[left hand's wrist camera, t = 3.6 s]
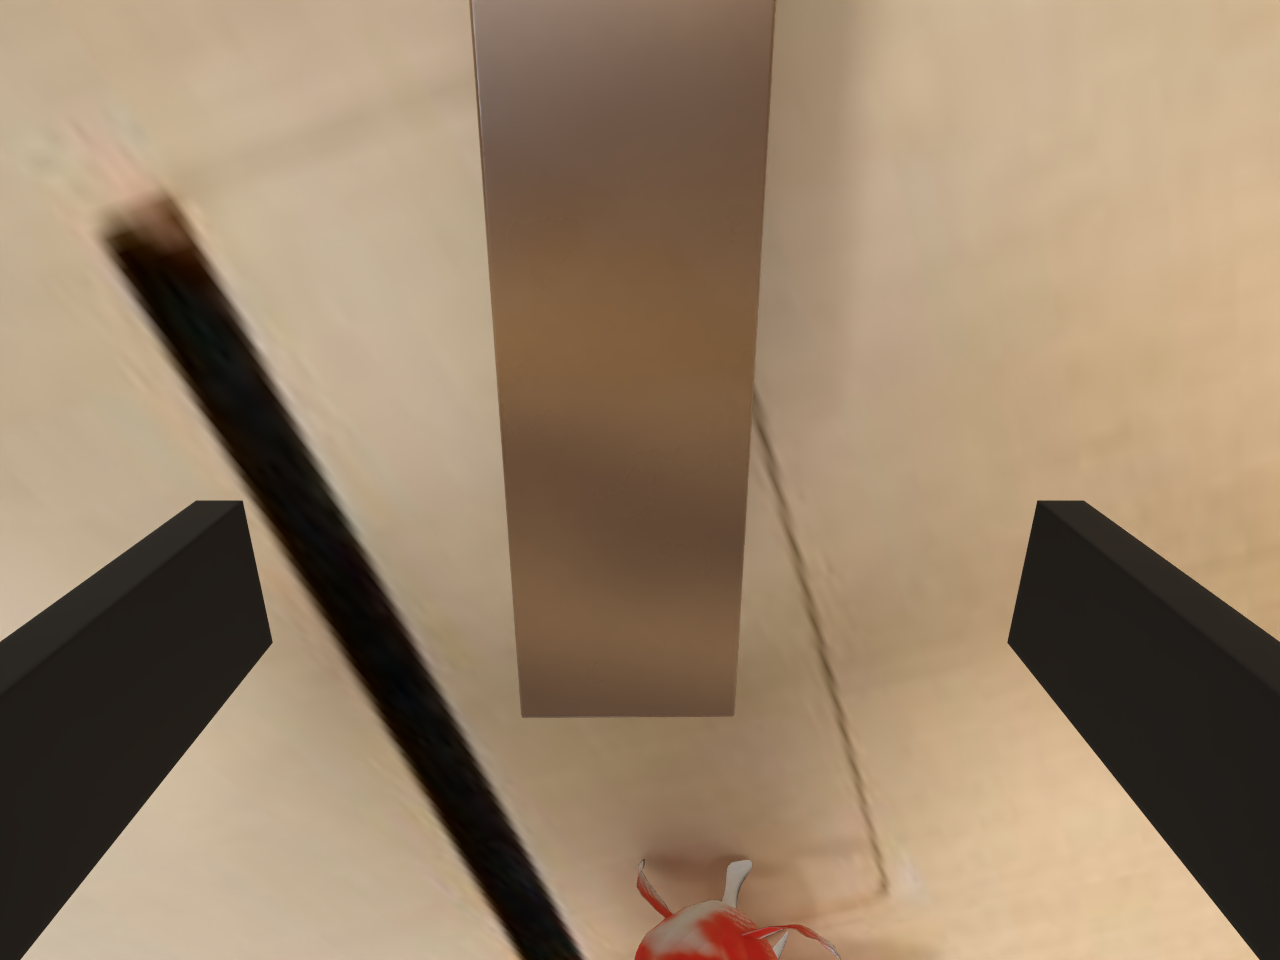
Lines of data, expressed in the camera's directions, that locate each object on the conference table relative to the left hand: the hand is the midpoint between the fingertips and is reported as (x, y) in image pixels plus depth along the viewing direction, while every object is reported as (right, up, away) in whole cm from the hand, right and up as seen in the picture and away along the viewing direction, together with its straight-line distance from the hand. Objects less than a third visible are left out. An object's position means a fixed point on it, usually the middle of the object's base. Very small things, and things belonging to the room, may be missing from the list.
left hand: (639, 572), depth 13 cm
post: (0, +22, +2) cm, 22 cm away
